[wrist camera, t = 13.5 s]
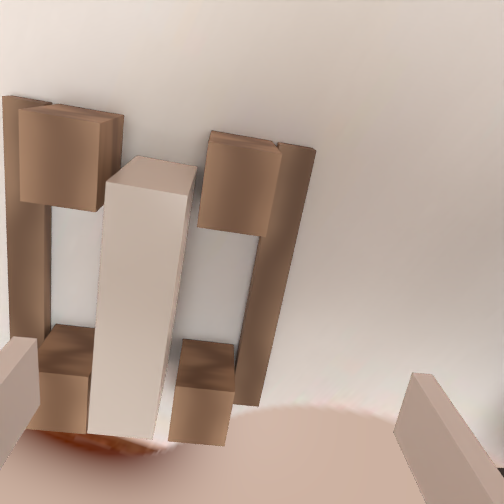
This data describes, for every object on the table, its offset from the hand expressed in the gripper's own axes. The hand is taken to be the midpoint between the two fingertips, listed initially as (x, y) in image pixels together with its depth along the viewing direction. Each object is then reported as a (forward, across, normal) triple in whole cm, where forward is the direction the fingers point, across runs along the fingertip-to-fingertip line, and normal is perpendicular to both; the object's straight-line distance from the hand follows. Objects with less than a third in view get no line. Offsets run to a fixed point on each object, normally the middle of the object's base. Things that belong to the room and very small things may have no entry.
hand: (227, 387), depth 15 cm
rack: (+24, +6, +6) cm, 25 cm away
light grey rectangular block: (+24, +6, +7) cm, 26 cm away
